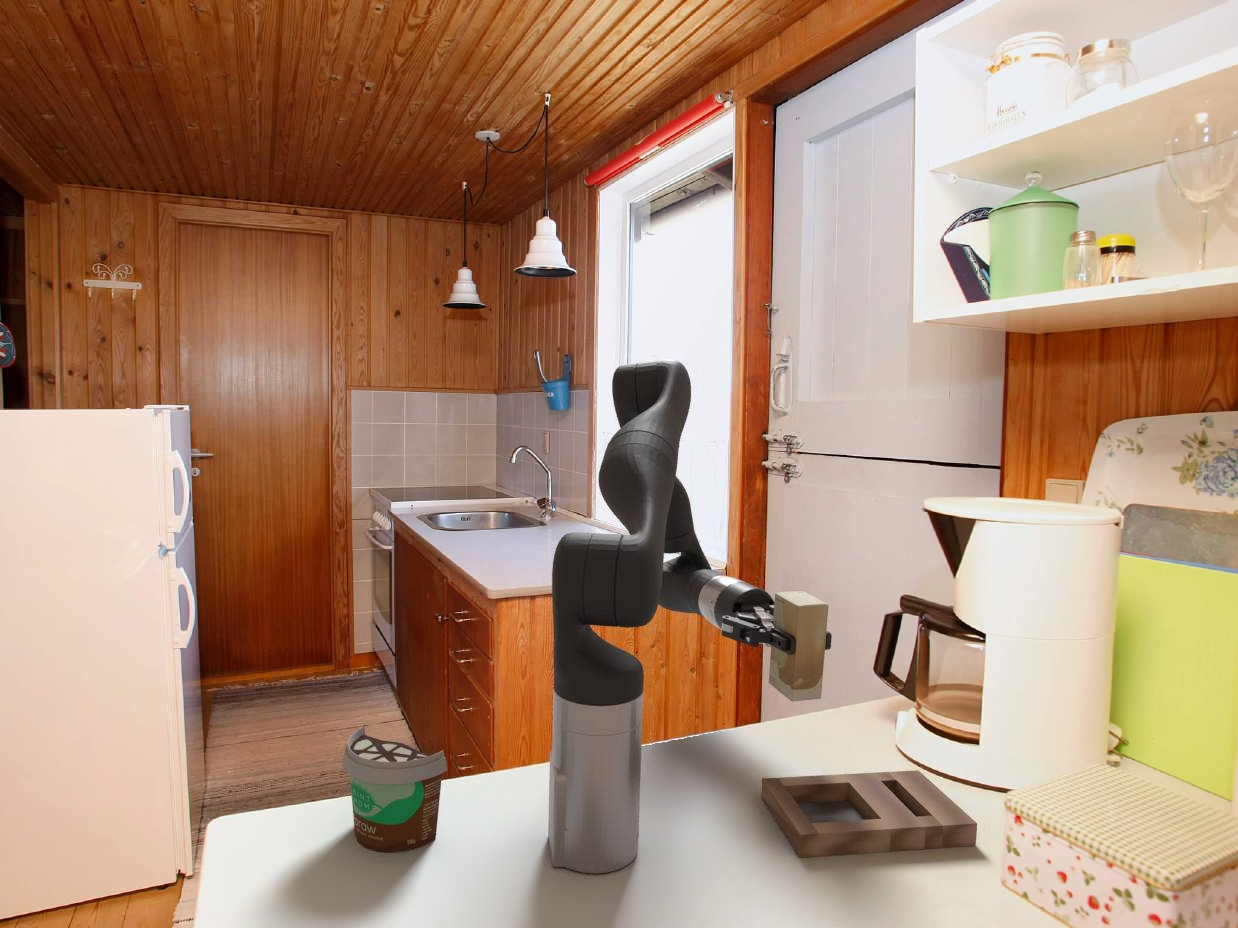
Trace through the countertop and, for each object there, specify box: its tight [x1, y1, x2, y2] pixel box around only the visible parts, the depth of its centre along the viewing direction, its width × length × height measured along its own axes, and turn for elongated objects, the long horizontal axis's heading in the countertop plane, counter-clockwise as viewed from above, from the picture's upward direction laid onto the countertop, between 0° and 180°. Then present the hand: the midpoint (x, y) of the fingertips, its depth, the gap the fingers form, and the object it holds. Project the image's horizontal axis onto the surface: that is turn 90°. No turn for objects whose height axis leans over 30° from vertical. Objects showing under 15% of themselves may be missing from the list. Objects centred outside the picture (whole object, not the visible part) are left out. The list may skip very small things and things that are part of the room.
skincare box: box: [768, 590, 829, 702], centre depth 100 cm, size 6×4×12 cm
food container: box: [341, 726, 448, 854], centre depth 83 cm, size 12×6×10 cm, turn 62°
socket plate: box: [760, 769, 978, 859], centre depth 90 cm, size 20×12×2 cm, turn 99°
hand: (811, 643), depth 97 cm, fingers closed on skincare box, 4 cm apart
